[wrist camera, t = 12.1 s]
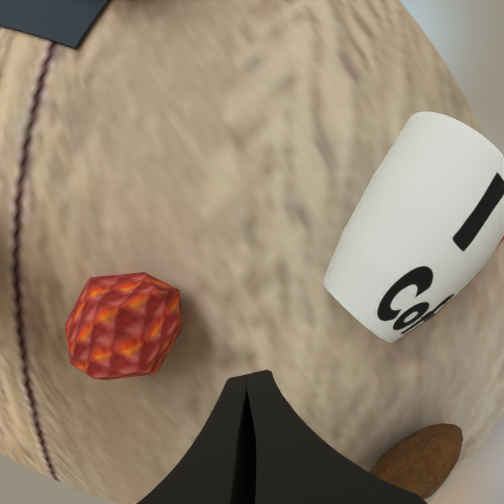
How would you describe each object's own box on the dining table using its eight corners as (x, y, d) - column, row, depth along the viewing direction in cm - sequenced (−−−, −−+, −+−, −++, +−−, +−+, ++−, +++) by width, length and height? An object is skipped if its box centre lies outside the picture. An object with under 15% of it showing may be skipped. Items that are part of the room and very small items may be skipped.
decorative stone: (191, 317, 22) (99, 375, 20) (143, 234, 20) (42, 298, 17) (227, 357, 17) (108, 432, 14) (164, 251, 14) (25, 340, 12)
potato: (335, 481, 25) (352, 535, 18) (410, 397, 22) (447, 452, 16) (384, 484, 26) (404, 530, 19) (454, 408, 23) (489, 452, 17)
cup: (372, 351, 11) (518, 143, 9) (273, 241, 17) (385, 97, 15) (426, 369, 15) (526, 234, 13) (349, 289, 22) (433, 179, 20)
